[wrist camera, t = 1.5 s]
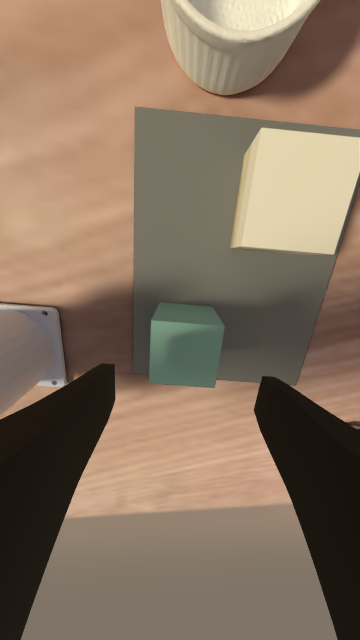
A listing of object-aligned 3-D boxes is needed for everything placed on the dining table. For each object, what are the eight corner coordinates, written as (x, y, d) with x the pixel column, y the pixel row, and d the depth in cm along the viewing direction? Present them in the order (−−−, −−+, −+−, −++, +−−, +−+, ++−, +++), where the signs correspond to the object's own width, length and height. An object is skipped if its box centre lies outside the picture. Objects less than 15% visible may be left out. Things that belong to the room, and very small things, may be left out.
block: (157, 349, 18) (148, 383, 13) (159, 302, 16) (151, 320, 12) (205, 353, 18) (214, 388, 13) (212, 306, 17) (224, 326, 12)
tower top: (235, 247, 14) (241, 246, 12) (251, 143, 12) (261, 127, 10) (318, 254, 14) (333, 254, 12) (347, 152, 12) (370, 138, 10)
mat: (133, 371, 19) (132, 373, 19) (135, 109, 13) (134, 106, 12) (293, 383, 19) (295, 385, 19) (372, 134, 13) (376, 131, 13)
